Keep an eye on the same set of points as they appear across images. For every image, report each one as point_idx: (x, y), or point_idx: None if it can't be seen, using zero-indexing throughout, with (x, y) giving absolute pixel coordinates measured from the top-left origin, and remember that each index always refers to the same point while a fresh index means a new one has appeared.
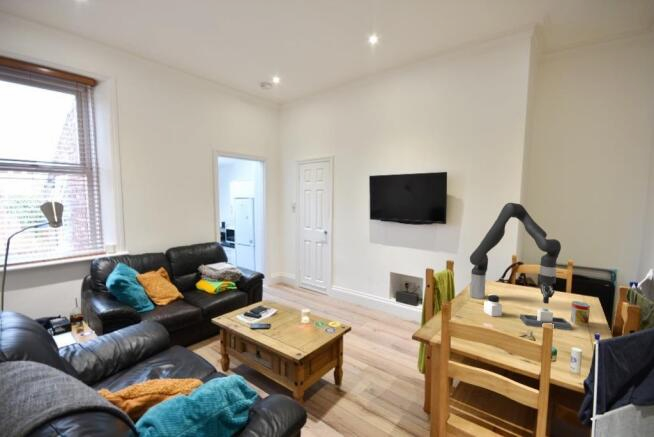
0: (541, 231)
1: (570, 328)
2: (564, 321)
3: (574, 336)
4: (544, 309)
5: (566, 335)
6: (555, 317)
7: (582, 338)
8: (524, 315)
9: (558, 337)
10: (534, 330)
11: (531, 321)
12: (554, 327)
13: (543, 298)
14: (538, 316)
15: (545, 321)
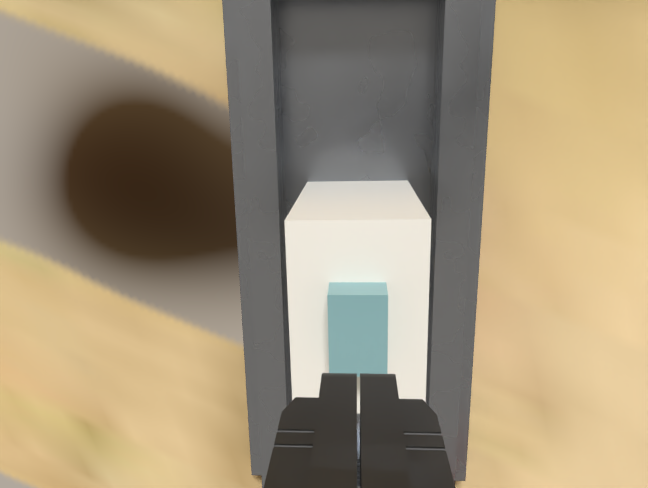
0: None
1: (252, 465)
2: (357, 481)
3: (99, 417)
4: (329, 311)
5: (93, 352)
6: (455, 433)
7: (79, 466)
8: (446, 1)
9: (2, 246)
10: (99, 33)
11: (241, 42)
12: (242, 312)
13: (388, 443)
14: (370, 194)
15: (262, 241)
